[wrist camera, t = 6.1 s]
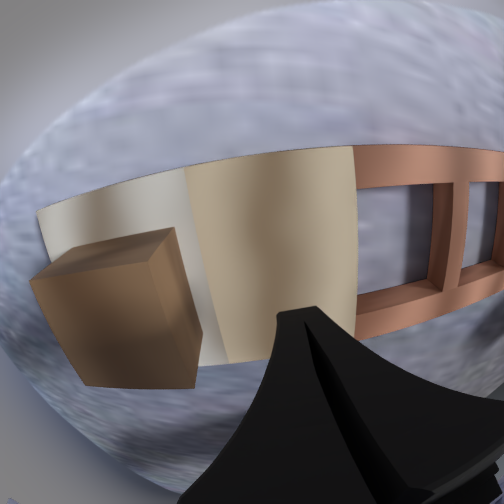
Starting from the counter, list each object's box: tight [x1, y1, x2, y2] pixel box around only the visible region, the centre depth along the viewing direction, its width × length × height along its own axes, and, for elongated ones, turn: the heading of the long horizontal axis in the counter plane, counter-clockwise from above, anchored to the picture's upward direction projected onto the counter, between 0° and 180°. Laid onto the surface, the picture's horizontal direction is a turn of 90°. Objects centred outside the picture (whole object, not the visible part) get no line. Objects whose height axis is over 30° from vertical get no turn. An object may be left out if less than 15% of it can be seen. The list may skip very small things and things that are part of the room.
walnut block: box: [29, 227, 203, 389], centre depth 11 cm, size 6×6×4 cm
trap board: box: [36, 144, 504, 366], centre depth 14 cm, size 32×11×2 cm, turn 98°
